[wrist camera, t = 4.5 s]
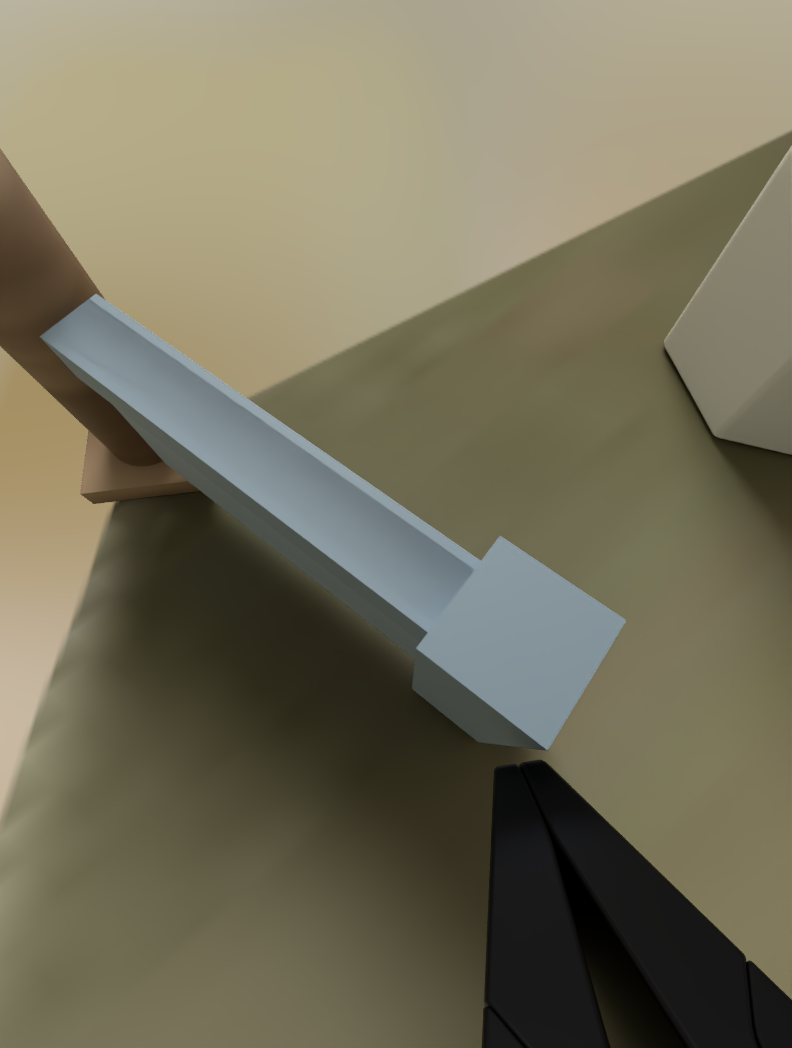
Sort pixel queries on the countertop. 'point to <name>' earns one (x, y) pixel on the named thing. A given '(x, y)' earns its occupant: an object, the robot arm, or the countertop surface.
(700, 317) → the jar
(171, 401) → the gate
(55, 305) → the hinge post
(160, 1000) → the countertop surface
